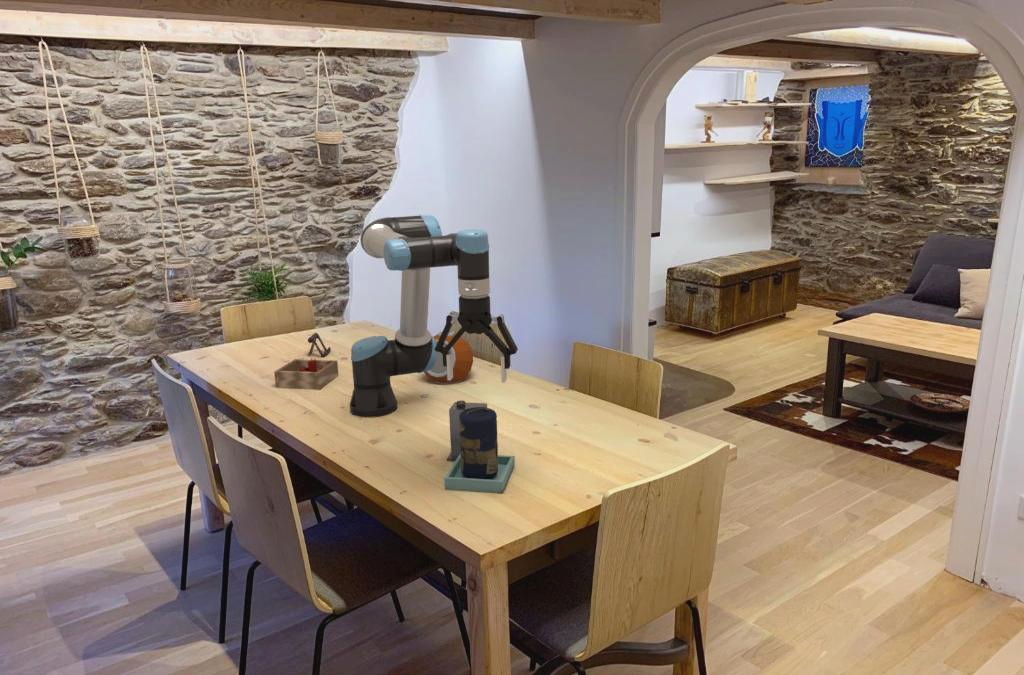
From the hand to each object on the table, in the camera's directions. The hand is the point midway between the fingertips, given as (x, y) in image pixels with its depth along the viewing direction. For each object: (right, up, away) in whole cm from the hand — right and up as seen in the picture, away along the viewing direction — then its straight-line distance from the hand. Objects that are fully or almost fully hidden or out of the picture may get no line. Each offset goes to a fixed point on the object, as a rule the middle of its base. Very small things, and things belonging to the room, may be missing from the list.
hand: (477, 380), depth 183 cm
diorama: (-63, -6, +90) cm, 110 cm away
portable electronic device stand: (-71, +3, +124) cm, 143 cm away
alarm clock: (-15, -5, +88) cm, 90 cm away
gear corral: (-66, -6, +88) cm, 110 cm away
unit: (-3, -22, +20) cm, 30 cm away
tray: (+1, -25, +6) cm, 26 cm away
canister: (+1, -25, +6) cm, 25 cm away
